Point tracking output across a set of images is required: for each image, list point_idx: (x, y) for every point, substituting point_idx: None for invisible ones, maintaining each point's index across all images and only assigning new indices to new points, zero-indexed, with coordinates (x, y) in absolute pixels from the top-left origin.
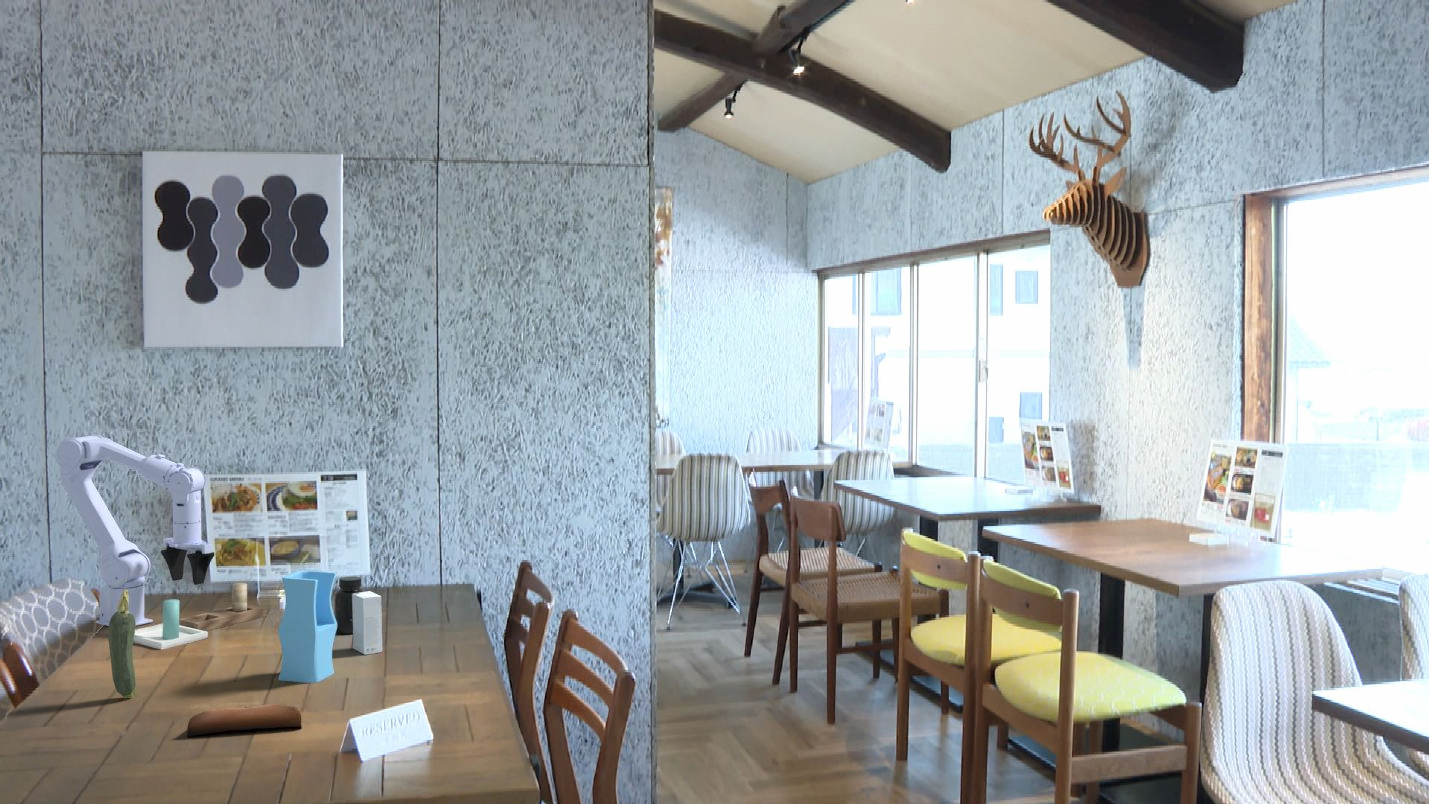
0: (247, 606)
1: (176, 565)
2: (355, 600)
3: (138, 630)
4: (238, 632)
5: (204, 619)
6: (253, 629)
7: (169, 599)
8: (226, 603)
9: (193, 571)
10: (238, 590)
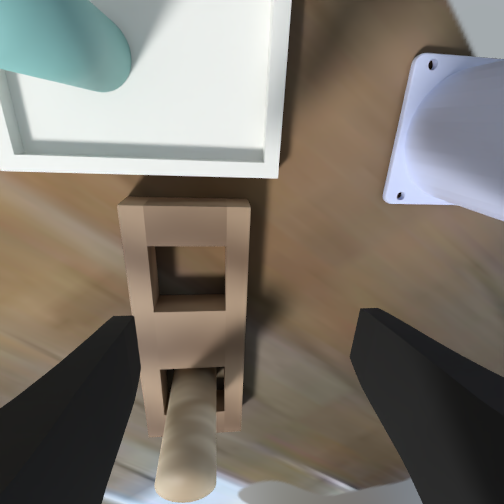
0: None
1: (428, 419)
2: None
3: (273, 11)
4: (26, 278)
5: (225, 290)
6: (31, 324)
7: (29, 16)
8: (356, 423)
9: (52, 388)
10: (165, 451)
